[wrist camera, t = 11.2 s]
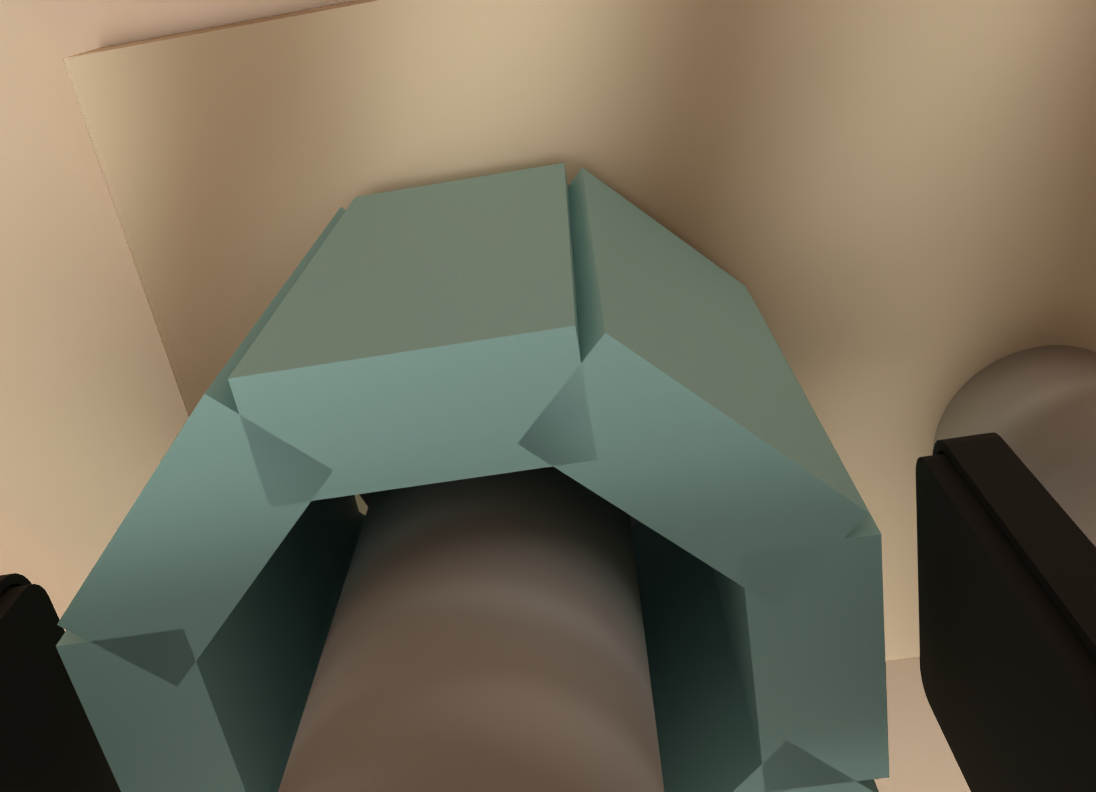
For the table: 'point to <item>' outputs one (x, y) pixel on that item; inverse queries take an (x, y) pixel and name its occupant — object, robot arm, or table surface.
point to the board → (689, 213)
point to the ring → (488, 449)
